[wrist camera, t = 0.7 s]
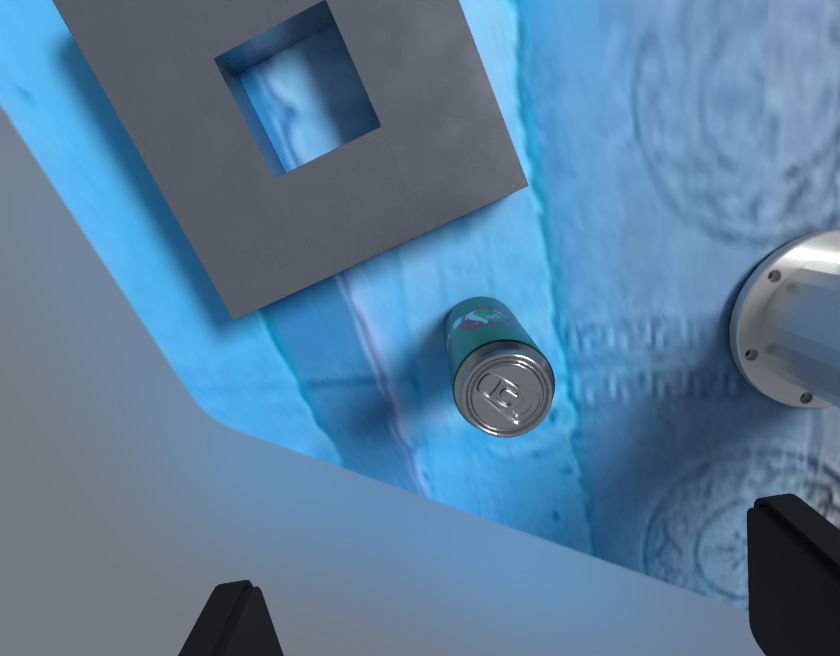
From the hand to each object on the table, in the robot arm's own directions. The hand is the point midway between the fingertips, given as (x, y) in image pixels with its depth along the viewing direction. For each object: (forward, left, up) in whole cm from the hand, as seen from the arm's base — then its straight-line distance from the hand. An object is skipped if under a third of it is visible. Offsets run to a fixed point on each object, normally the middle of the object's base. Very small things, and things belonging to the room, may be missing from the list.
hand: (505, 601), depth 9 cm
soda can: (-1, +2, -26) cm, 26 cm away
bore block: (+3, -15, -26) cm, 30 cm away
